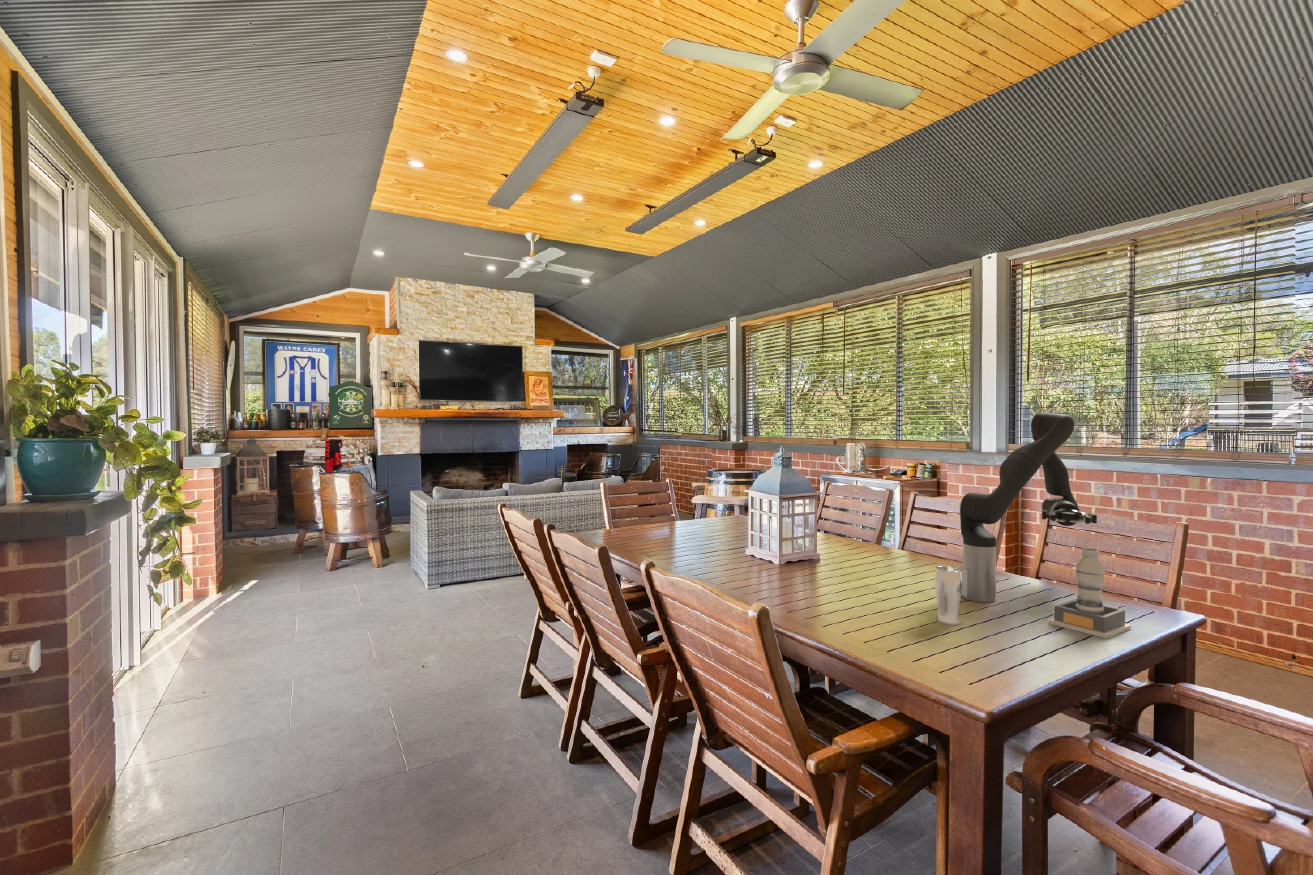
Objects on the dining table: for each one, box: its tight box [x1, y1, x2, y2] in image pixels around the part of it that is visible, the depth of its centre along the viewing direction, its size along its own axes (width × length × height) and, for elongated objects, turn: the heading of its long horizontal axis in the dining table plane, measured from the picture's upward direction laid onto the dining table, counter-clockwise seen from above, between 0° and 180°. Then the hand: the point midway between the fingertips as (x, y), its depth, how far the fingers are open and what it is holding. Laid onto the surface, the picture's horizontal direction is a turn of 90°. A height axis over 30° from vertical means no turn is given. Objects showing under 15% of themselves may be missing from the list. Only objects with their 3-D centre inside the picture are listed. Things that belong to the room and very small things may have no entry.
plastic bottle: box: [1074, 547, 1105, 616], centre depth 164 cm, size 6×7×20 cm
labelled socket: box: [1048, 598, 1132, 639], centre depth 164 cm, size 14×14×5 cm
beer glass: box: [934, 565, 963, 626], centre depth 167 cm, size 7×7×15 cm
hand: (1070, 519), depth 183 cm, fingers open, 8 cm apart
